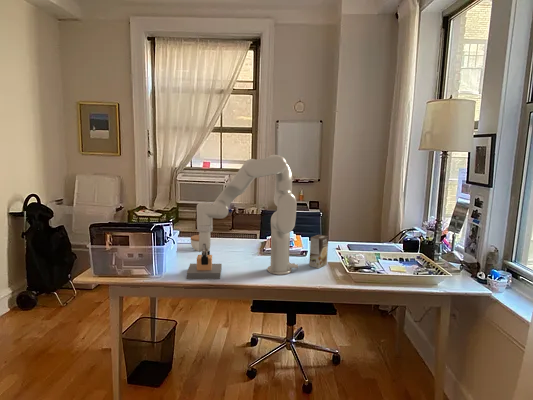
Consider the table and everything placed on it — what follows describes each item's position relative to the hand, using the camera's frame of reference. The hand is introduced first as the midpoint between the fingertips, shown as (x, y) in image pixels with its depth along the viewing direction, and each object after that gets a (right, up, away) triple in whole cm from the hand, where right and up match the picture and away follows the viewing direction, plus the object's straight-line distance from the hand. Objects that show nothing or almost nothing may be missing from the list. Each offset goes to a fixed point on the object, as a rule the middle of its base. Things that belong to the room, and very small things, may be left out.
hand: (205, 261), depth 195 cm
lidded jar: (-10, 0, +42) cm, 43 cm away
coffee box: (+58, -5, +19) cm, 61 cm away
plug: (-1, -5, +1) cm, 6 cm away
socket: (-1, -6, +1) cm, 7 cm away
